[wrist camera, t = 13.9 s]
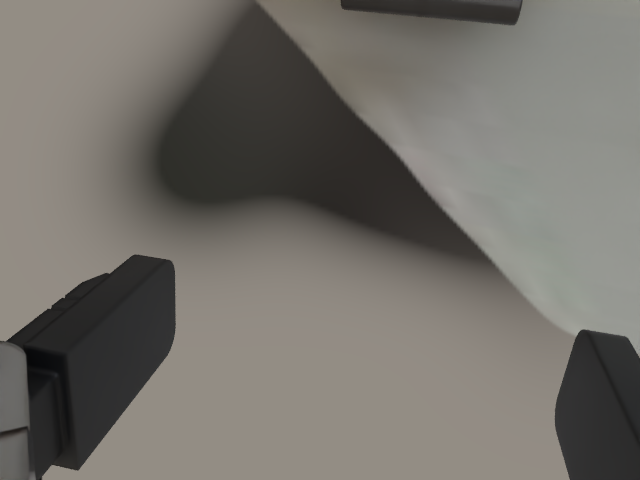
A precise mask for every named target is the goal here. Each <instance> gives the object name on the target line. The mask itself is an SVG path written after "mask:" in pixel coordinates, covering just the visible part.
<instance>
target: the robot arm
mask: <svg viewBox="0 0 640 480" xmlns="http://www.w3.org/2000/svg"><path fill="white" fill-rule="evenodd" d="M175 325H176V323H175V270H174V265H173V263H172V262H171V261H170V260H166V259H160V258H154V257H148V256H142V255H133V256H131V257H130V258H129V259H127V260H126V261H125V262H124V263H123V264H122V265H120V266H119V267H118V268H116V269H115V270H114V271H113V272H112V273H110V274H108V273H105V274H102V275H100V276H97V277H95V278H92V279H90V280H87V281H85V282H82V283H81V284H79V285H78V286H77V287H76V288H74V289H73V290H72V291H70V292H69V293H68V294H67V295H65V298H61V299H60V300H59V301H57V302H56V303H55V304H54V305H52V308H51V309H47V310H46V311H44V312H43V313H42V314H41V315H39V316H38V317H37V318H35V319H34V320H33V321H32V322H30V323H29V324H28V325H26V326H25V327H24V328H22V329H21V330H20V331H19V332H17V333H16V334H15V335H13V336H12V337H11V338H10V339H8V340H7V341H6V342H4V341H0V480H42V476H43V475H44V473H45V472H46V471H47V470H48V469H49V467H50V466H51V465H56V466H60V467H64V468H69V469H74V470H79V469H80V467H81V466H82V465H83V464H84V462H85V461H86V460H87V458H88V457H89V456H90V455H91V453H92V452H93V451H94V449H95V448H96V447H97V446H98V444H99V443H100V442H101V440H102V439H103V438H104V436H105V435H106V434H107V433H108V431H109V430H110V429H111V427H112V426H113V425H114V424H115V422H116V421H117V420H118V419H119V417H120V416H121V415H122V413H123V412H124V411H125V410H126V408H127V407H128V406H129V404H130V403H131V402H132V400H133V399H134V398H135V397H136V395H137V394H138V393H139V391H140V390H141V389H142V388H143V386H144V385H145V383H146V382H147V381H148V380H149V379H150V377H151V376H152V375H153V373H154V372H155V371H156V369H157V368H158V367H159V366H160V364H161V363H162V362H163V360H164V359H165V358H166V356H167V355H168V353H169V351H170V349H171V346H172V344H173V340H174V335H175ZM555 427H556V432H557V436H558V440H559V443H560V446H561V450H562V453H563V457H564V460H565V464H566V467H567V471H568V474H569V478H570V480H640V358H639V356H638V354H637V353H636V351H635V349H634V348H633V346H632V344H631V343H630V341H629V339H628V338H627V337H625V336H620V335H614V334H608V333H602V332H596V331H590V330H581V331H580V332H579V333H578V335H577V337H576V339H575V342H574V345H573V349H572V352H571V355H570V358H569V362H568V365H567V368H566V371H565V374H564V378H563V381H562V385H561V387H560V391H559V394H558V397H557V402H556V408H555Z"/></svg>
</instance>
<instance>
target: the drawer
mask: <svg viewBox="0 0 640 480" xmlns="http://www.w3.org/2000/svg"><path fill="white" fill-rule="evenodd" d="M522 1H523V0H341V6H342V9H344V10H353V11H363V12H374V13H385V14H396V15H407V16H417V17H428V18H439V19H450V20H460V21H471V22H482V23H493V24H504V25H515V24H516V23H517V21H518V18H519V15H520V11H521V6H522Z"/></svg>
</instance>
